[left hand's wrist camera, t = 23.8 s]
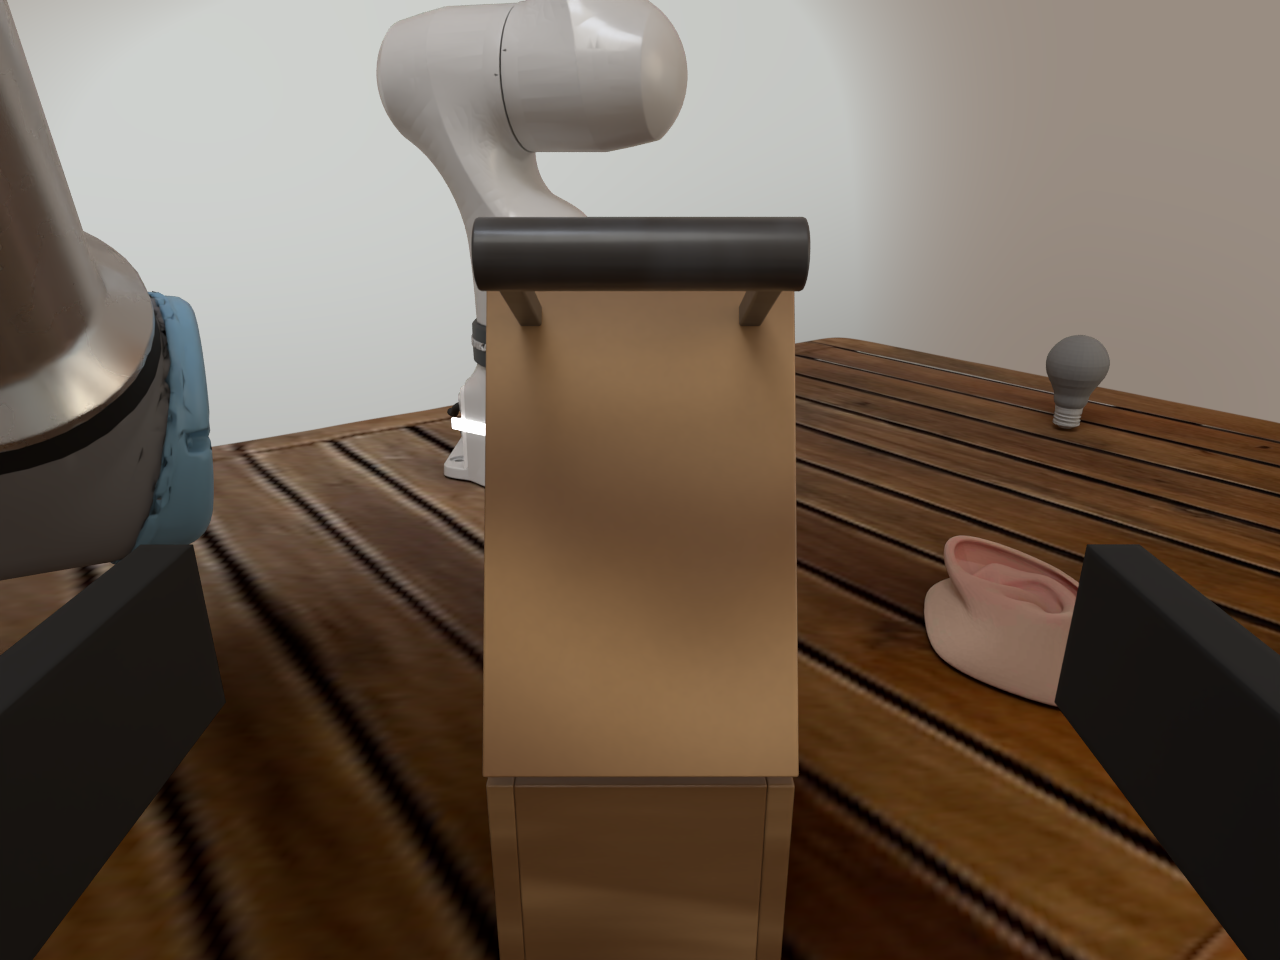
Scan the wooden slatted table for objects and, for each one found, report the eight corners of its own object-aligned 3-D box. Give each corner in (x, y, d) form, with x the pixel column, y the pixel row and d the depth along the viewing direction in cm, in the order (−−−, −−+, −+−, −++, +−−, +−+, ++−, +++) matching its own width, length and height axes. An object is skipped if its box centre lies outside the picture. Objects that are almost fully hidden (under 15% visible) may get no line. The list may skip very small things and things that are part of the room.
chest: (547, 725, 45) (539, 561, 42) (732, 724, 45) (740, 561, 42) (503, 1003, 30) (485, 786, 27) (777, 1003, 30) (795, 785, 27)
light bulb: (1045, 434, 90) (1062, 340, 87) (1028, 418, 96) (1043, 329, 92) (1105, 436, 90) (1124, 342, 86) (1084, 420, 95) (1102, 330, 91)
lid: (491, 251, 28) (432, 143, 20) (789, 251, 28) (849, 144, 20) (487, 769, 27) (423, 873, 19) (794, 769, 27) (858, 873, 19)
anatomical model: (1149, 660, 43) (914, 614, 47) (1133, 725, 45) (906, 675, 49) (1126, 554, 55) (938, 524, 59) (1114, 608, 56) (931, 576, 60)
